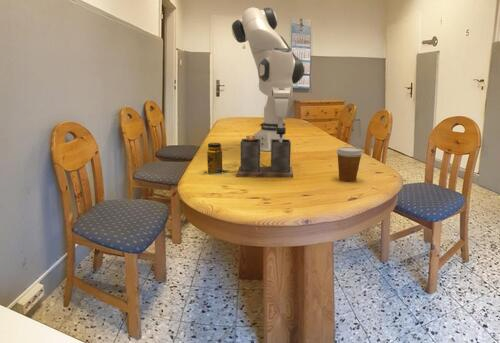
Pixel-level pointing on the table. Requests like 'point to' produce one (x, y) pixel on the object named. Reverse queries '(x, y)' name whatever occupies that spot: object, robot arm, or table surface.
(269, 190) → the table surface
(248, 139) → the plunger left
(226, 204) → the table surface
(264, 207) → the table surface
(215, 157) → the condiment
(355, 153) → the disposable coffee cup
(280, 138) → the plunger right
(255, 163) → the stand
